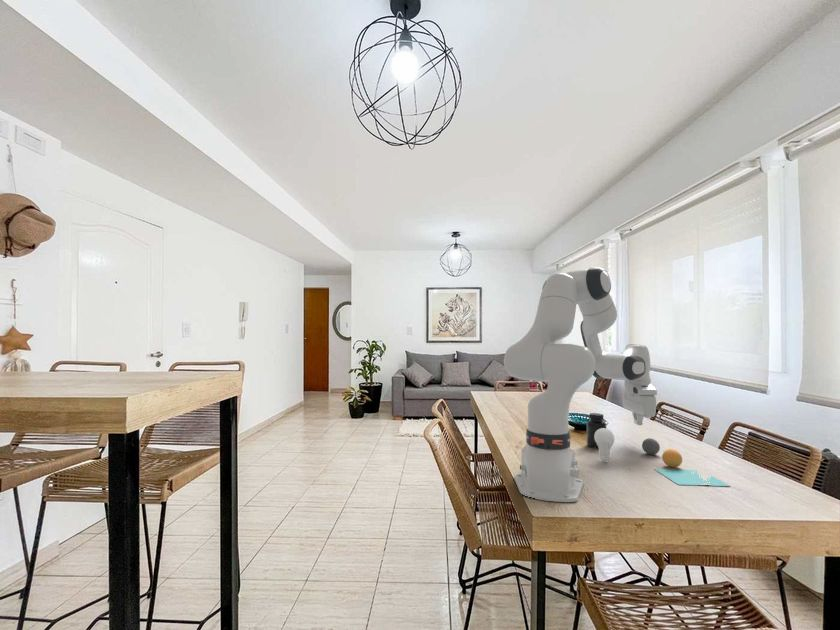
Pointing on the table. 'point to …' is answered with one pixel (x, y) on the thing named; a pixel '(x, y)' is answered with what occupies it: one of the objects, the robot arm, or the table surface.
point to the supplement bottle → (594, 428)
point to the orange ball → (672, 458)
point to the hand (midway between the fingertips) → (638, 424)
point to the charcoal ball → (650, 446)
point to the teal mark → (689, 477)
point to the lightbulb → (604, 442)
